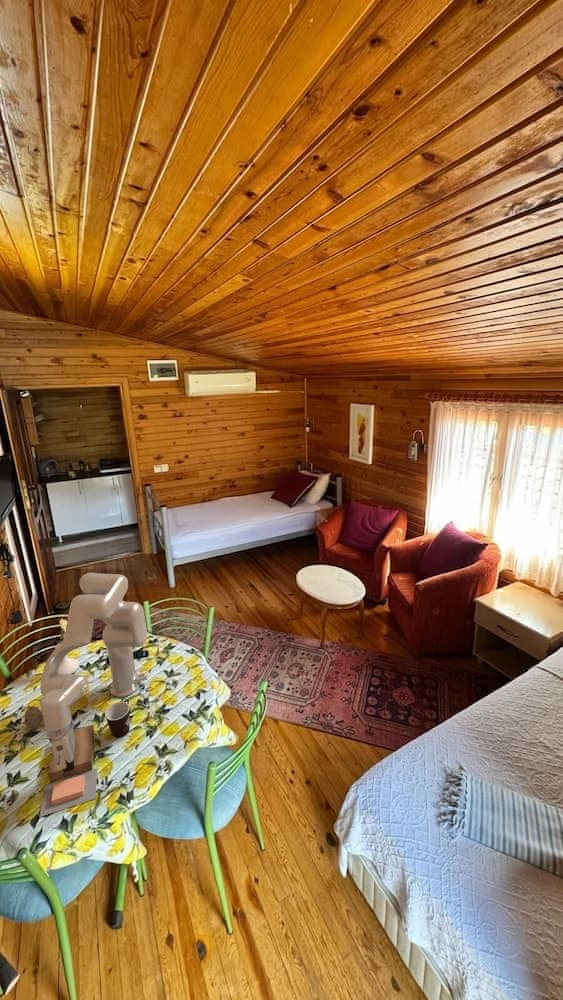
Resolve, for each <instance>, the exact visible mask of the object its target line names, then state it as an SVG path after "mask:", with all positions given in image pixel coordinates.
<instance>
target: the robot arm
mask: <svg viewBox="0 0 563 1000" xmlns="http://www.w3.org/2000/svg"><path fill="white" fill-rule="evenodd" d="M78 583H79V587H80V589H81V591H82V592H83V593H84V594H79V595H76V596H75V597H73V598H72V600H71V602H70V605H69V606H70V607H69V611H68V616H67V620H66V622H67V625H66V630H65V632H64V633H65V636H64V638H63V640H62V641H63V642H62V643H61V644H60V645H59V646H58V647H57V648H56V649H55V648H54V650H53V651H52V653H51V654H50V656H49V657H48V658H47V660H46V662H45V664H44V667H43V670H42V674H41V675H42V676H41V680H40V687H39V689H40V694H41V696H42V697H41V699H40V700H39V701H40V702H39V707H40V711H41V713H42V716H43V723H44V728H45V733H46V736H47V738H48V739H49V740H51V746H52V748H53V753H54V758H55V762H56V764H57V765H59V763H60V761H61V767H62V769H63V772H67V771H70V770H73V769H74V761H73V758H74V751H75V741H76V739H75V734H74V730H75V729H74V721H73V718H72V712H71V706H73V704H75V703H76V702H77V701H79V699H81V697H82V696H84V694H85V693H86V692H87V690H88V687H89V678H88V677H87V676H85V675H84V674H83V675H82V674H74V673H73V674H58V668H59V665H60V663H61V661H62V659H63V658H64V657H65V656H66V657H67V655H68V654H69V653H71V652H72V651H74V650H77V649H78V648H82V647H85V646H87V645H88V644H90V643H91V641H92V635H93V629H94V623H95V620H102V621H103V623H104V624H105V625H106V626H105V627H104V628H103V630H102V641H103V644H104V646H105V648H106V652H107V656H108V661H109V668H110V673H111V679H112V680H111V681H112V683H110V685H109V692H110V695H112V696H114V697H116V698H123V697H128V696H131V695H132V694H134V693H135V692H136V691H137V690H139V688H140V687H141V682H143V681H148V675H147V674H146V675H145V672H141V673H137V670H136V666H135V661H134V651H133V648H141V647H142V646H143V645H145V644H146V641H147V639H148V629H147V624H146V623H147V622H146V618H145V611H144V608H143V606H142V605H141V604H140V602H135V601H125V600H123V599H124V597H125V595H126V593H127V592H128V587H129V581H128V577H126V575H124V574H119V573H97V572H88V573H85V574H83V575H82V576H81V577H80V579H79V582H78Z"/></svg>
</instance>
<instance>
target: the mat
mask: <svg viewBox="0 0 563 1000" xmlns="http://www.w3.org/2000/svg"><path fill="white" fill-rule="evenodd" d="M81 775H84V776H85V786H84V795H83V796H80V797H77V798H74V799H71V800H68V801H64V802H61V803H58V804H55V805H52V801H51V800H52V794H53V788H54V783H57V782H61V781H64V780H67V779H71V778H74V777H77V776H81ZM97 780H98V768H95V769H92V770H89V771H86V772H83V773H80V774H76V775H73V776H70V777H67V778H64V779H60V780H57V781H54V782H51V783H50V782H49V783H46V784H44V789H43V794H42V800H41V805H40V810H39V811H40V812H39V817H41V818H43V816H44V817H45V815H47V816H49V815H48V814H50V815H52V814H51V813H53V814H55V813H54V812H56V813H58V812H57V811H59V810H62V811H64V810H63V809H65V808H68V809H70V808H72V806H73V807H76V806H79V805H82V804H85V803H87V802H88V803H89V802H92V801H94V800H96V799H97ZM78 804H79V805H78ZM75 805H76V806H75ZM69 807H70V808H69ZM65 810H66V809H65ZM59 812H60V811H59Z"/></svg>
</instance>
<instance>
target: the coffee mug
mask: <svg viewBox="0 0 563 1000" xmlns="http://www.w3.org/2000/svg"><path fill="white" fill-rule="evenodd" d="M130 713H131V712H130V699H128V698H126V699H125V700H124V701H118V702H114V703H112V704H111V705H109V706H108V707H107V708H106V710H105V712H104V716H105V720H106V722H107V725H108V727H109V730H110V733H111V736H112V737H113V738H114V739H122V738H124V737H126V736H127V735H129V734H128V733H130V730H131V729H130V723H131V721H130Z"/></svg>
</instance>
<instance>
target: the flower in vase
mask: <svg viewBox="0 0 563 1000" xmlns="http://www.w3.org/2000/svg"><path fill="white" fill-rule="evenodd" d="M66 625H67V620H66V619H63V618H61V619H60V620H59V626H60V629H61V632H60V639H64V636H65V630H66ZM62 642H63V640H60V642H58V643H57V644H56V645H55V646H54V650H55V649H56V648H57V647H58V646H59V645H60V644H61V643H62ZM79 667H80V661H78V660H77V659H76V658H72V657H71V658H70V657H67V655H66V656H65V657H64V658H63V659H62V661H61V663H60V665H59V668H58V674H74V673H76V672H77V670H78V668H79Z"/></svg>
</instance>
